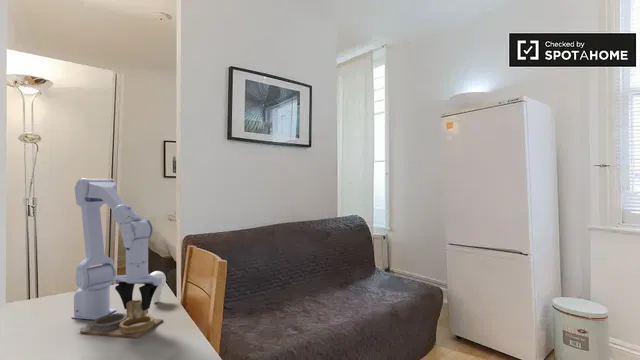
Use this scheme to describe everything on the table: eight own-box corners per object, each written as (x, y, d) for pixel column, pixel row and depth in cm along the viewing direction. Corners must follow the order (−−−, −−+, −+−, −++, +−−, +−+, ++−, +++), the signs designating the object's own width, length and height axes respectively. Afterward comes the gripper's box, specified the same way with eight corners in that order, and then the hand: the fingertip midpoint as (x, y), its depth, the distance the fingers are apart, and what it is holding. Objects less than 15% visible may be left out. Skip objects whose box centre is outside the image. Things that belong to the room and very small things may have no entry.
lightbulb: (158, 306, 113) (158, 274, 113) (142, 304, 114) (142, 273, 114) (169, 299, 119) (169, 269, 119) (154, 298, 120) (154, 268, 120)
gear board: (80, 333, 92) (80, 326, 92) (111, 317, 103) (111, 311, 103) (137, 338, 89) (137, 330, 89) (163, 321, 100) (163, 314, 100)
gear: (122, 318, 93) (122, 303, 93) (135, 310, 98) (135, 297, 98) (138, 319, 92) (138, 304, 92) (151, 312, 97) (151, 298, 98)
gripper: (168, 259, 98) (168, 304, 98) (125, 258, 101) (125, 302, 100) (152, 265, 91) (152, 314, 91) (106, 263, 94) (106, 311, 93)
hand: (137, 308), depth 95 cm, fingers closed on gear, 5 cm apart
